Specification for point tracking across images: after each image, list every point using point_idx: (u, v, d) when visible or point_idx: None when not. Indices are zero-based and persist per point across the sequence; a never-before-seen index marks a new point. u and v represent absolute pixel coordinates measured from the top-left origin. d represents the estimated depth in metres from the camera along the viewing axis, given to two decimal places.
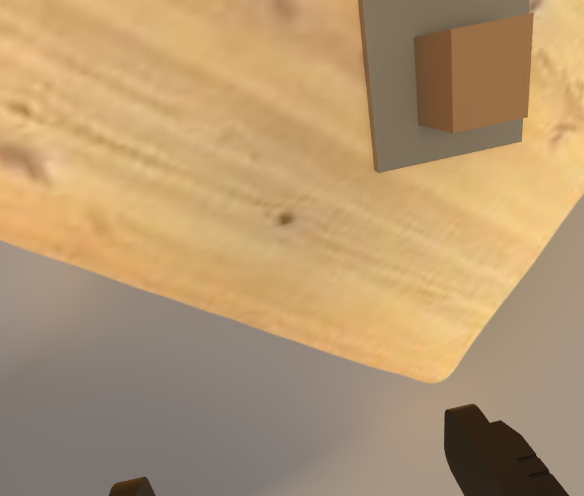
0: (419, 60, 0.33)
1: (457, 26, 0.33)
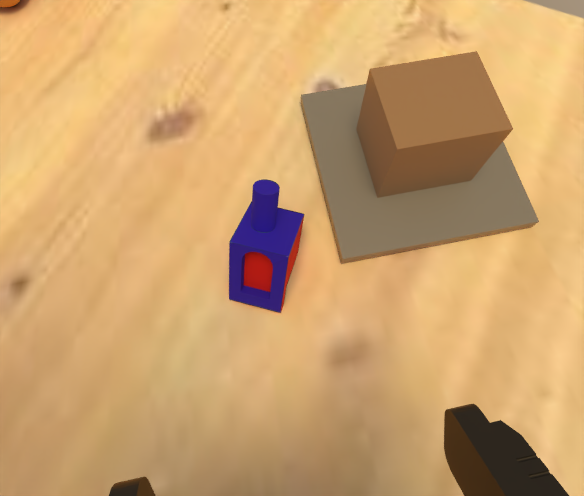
0: (403, 188, 0.28)
1: (361, 153, 0.30)
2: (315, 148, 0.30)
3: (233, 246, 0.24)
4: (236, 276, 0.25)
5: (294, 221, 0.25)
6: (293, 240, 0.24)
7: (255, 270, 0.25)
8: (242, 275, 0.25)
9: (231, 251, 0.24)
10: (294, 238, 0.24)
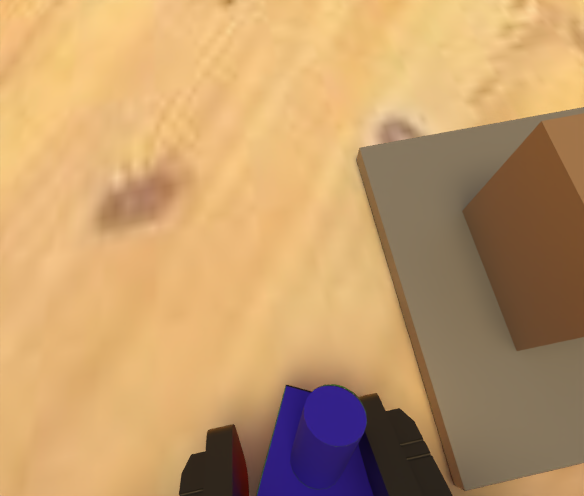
0: None
1: (476, 259, 0.17)
2: (392, 249, 0.17)
3: None
4: None
5: None
6: None
7: None
8: None
9: None
10: None
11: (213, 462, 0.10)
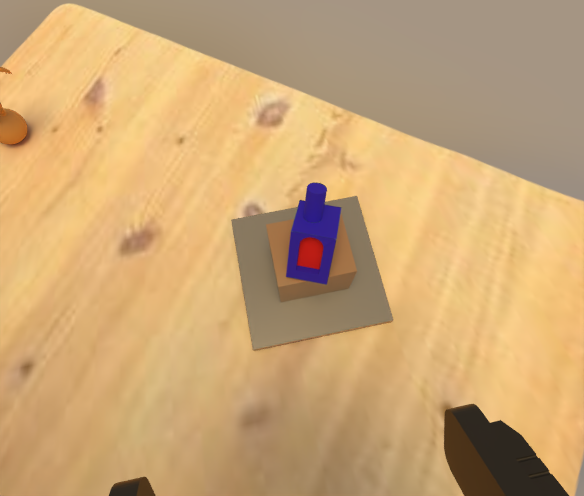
0: (297, 297, 0.40)
1: (272, 267, 0.42)
2: (239, 263, 0.42)
3: (293, 234, 0.31)
4: (293, 258, 0.33)
5: (335, 213, 0.33)
6: (337, 227, 0.32)
7: (307, 252, 0.33)
8: (297, 257, 0.33)
9: (291, 238, 0.32)
10: (337, 226, 0.32)
11: None
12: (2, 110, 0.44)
